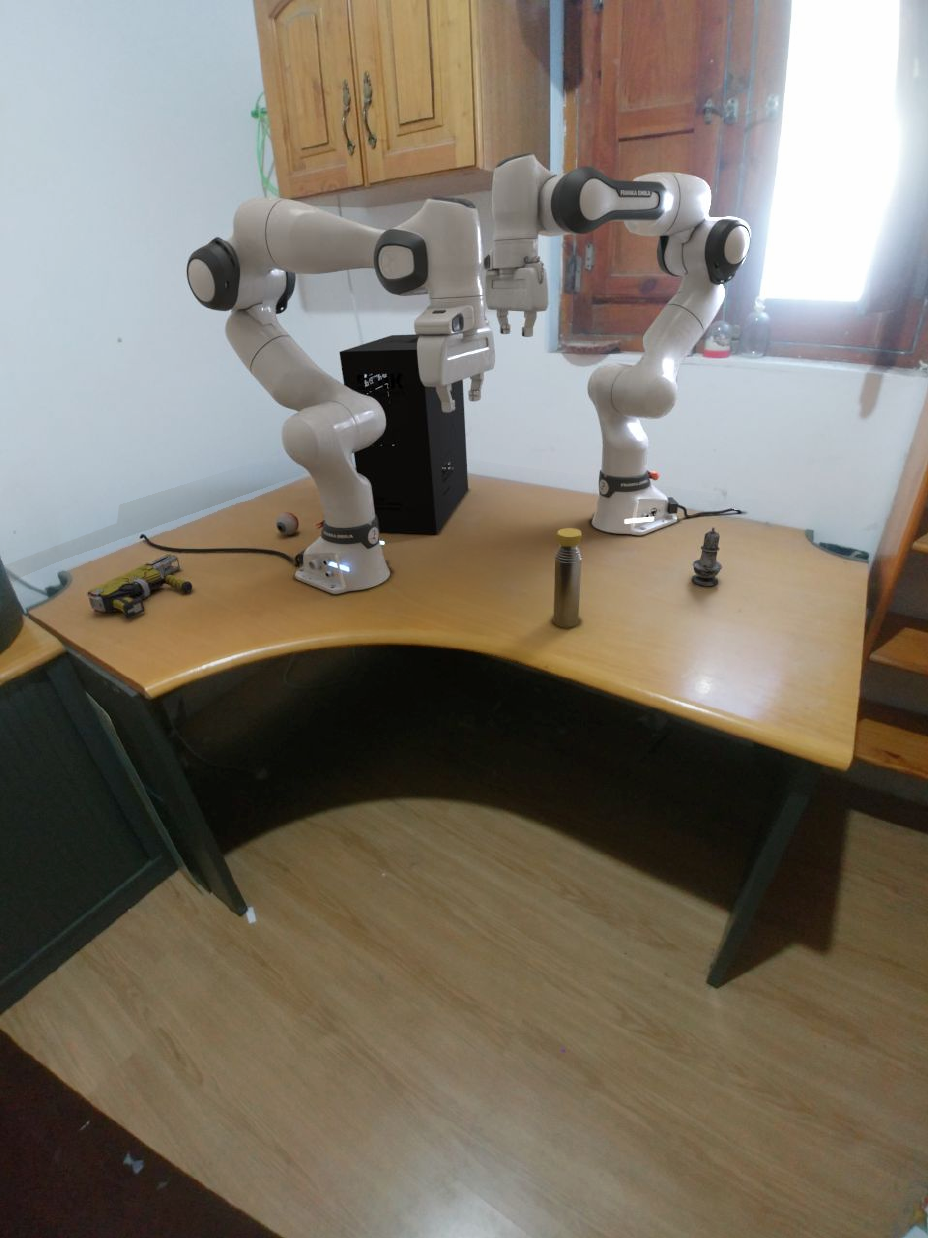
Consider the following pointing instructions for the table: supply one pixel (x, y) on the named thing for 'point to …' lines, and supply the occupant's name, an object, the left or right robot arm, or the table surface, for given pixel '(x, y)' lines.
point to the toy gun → (136, 587)
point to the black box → (408, 438)
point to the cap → (569, 537)
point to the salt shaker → (708, 561)
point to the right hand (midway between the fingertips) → (516, 335)
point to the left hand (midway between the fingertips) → (462, 405)
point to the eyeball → (287, 523)
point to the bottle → (567, 586)
